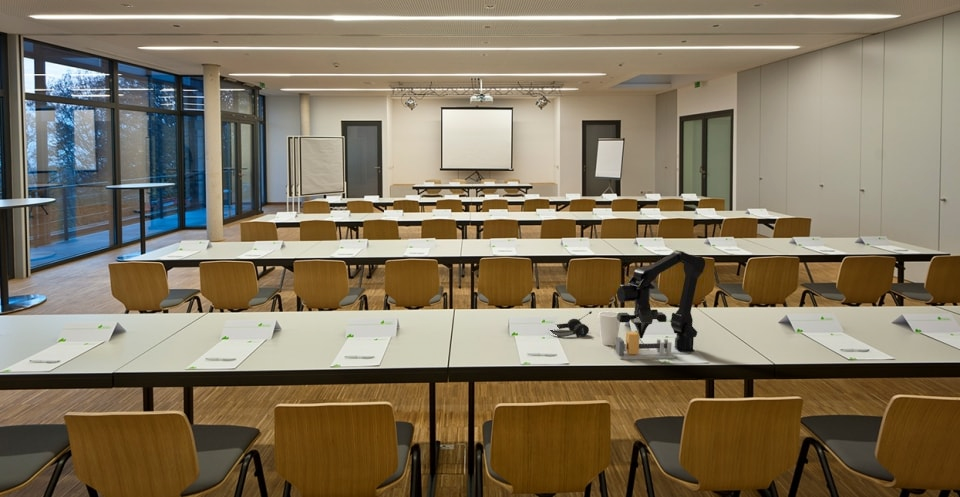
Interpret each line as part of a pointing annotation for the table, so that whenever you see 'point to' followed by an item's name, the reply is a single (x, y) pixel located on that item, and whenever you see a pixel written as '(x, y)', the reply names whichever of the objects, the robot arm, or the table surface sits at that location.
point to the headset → (572, 328)
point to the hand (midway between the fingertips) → (640, 338)
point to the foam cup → (608, 327)
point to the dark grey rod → (646, 346)
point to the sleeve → (632, 342)
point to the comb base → (644, 351)
